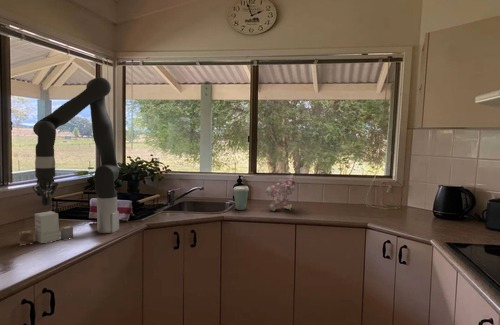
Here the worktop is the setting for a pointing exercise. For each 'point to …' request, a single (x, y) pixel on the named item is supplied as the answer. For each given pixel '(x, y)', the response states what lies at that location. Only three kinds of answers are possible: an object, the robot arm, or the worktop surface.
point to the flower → (285, 187)
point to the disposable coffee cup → (241, 196)
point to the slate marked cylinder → (66, 232)
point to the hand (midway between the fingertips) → (46, 205)
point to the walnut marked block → (26, 237)
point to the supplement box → (46, 227)
